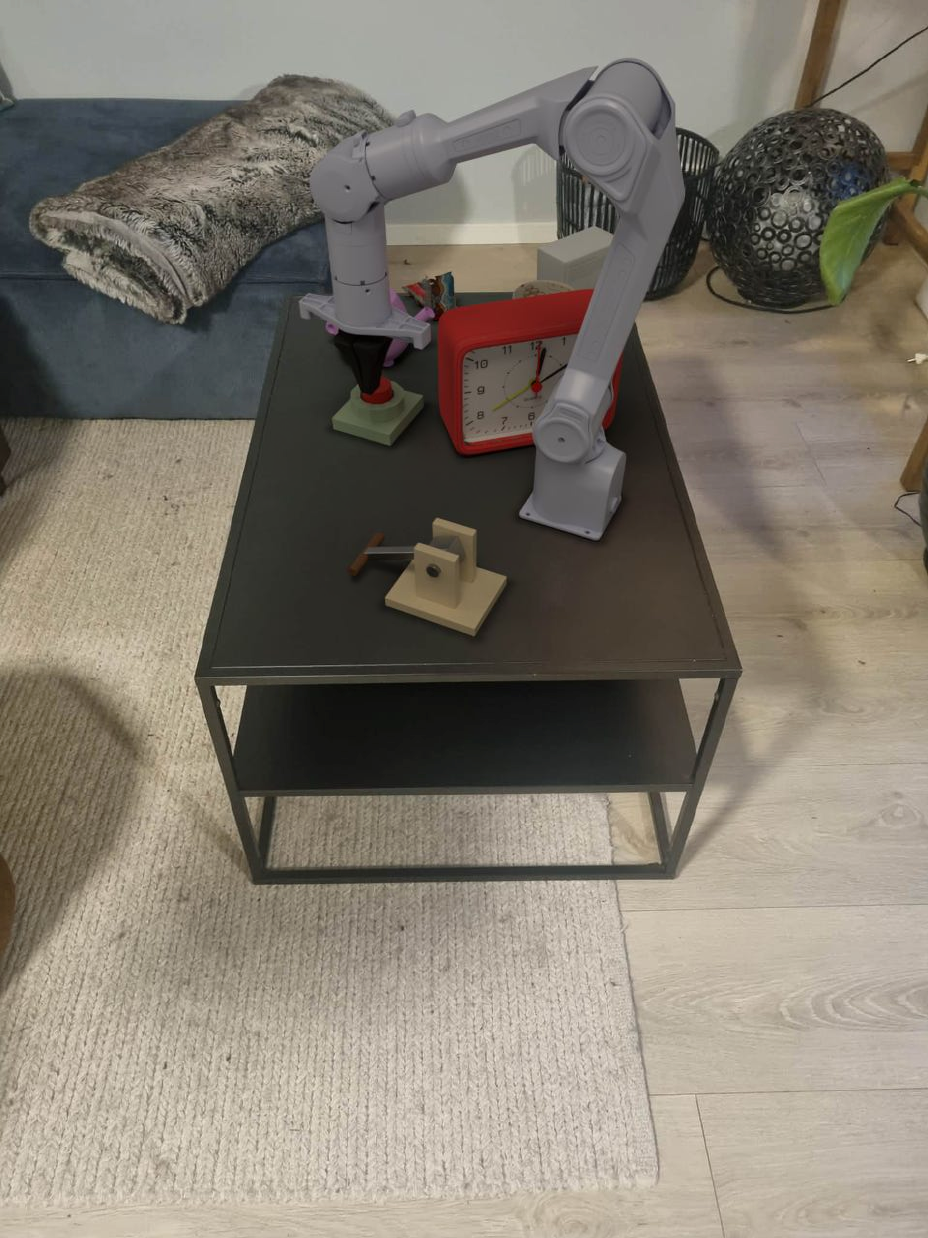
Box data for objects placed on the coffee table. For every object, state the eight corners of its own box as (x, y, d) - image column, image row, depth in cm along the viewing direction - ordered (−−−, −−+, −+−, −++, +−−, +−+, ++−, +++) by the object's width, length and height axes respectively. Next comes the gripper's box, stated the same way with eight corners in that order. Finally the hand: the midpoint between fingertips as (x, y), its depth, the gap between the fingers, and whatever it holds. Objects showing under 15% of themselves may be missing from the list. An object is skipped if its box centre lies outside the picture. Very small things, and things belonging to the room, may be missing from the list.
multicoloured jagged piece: (393, 241, 134) (430, 231, 135) (399, 288, 139) (434, 277, 140) (427, 278, 126) (465, 266, 128) (432, 325, 132) (468, 314, 133)
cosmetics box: (589, 293, 137) (594, 222, 129) (618, 311, 133) (626, 239, 126) (533, 316, 133) (535, 244, 125) (562, 335, 129) (566, 262, 122)
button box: (423, 406, 118) (423, 382, 115) (390, 446, 113) (388, 422, 110) (368, 391, 120) (366, 367, 118) (333, 429, 115) (330, 405, 112)
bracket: (385, 605, 95) (380, 549, 89) (420, 556, 100) (418, 500, 94) (474, 637, 92) (475, 581, 86) (506, 584, 97) (509, 528, 91)
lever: (353, 581, 96) (343, 563, 95) (380, 544, 100) (371, 527, 98) (448, 581, 89) (439, 562, 88) (474, 542, 93) (466, 523, 92)
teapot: (339, 327, 131) (332, 263, 124) (443, 338, 129) (442, 274, 122) (316, 367, 124) (308, 302, 117) (426, 379, 122) (424, 314, 115)
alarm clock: (435, 416, 117) (432, 300, 105) (585, 392, 120) (598, 276, 108) (455, 463, 110) (454, 344, 99) (613, 436, 114) (630, 318, 102)
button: (397, 392, 115) (396, 380, 113) (383, 408, 112) (382, 395, 111) (371, 385, 116) (370, 373, 114) (357, 400, 114) (356, 388, 112)
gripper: (443, 269, 93) (445, 386, 103) (318, 240, 97) (332, 355, 107) (410, 301, 89) (415, 420, 99) (281, 269, 93) (299, 386, 103)
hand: (370, 388), depth 103 cm, fingers closed
